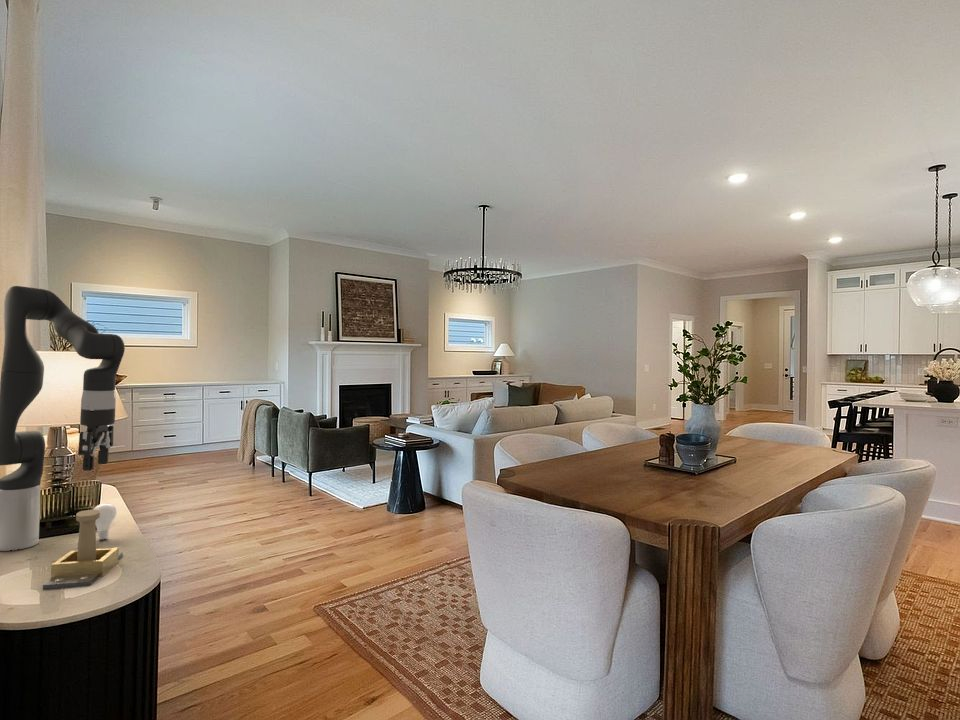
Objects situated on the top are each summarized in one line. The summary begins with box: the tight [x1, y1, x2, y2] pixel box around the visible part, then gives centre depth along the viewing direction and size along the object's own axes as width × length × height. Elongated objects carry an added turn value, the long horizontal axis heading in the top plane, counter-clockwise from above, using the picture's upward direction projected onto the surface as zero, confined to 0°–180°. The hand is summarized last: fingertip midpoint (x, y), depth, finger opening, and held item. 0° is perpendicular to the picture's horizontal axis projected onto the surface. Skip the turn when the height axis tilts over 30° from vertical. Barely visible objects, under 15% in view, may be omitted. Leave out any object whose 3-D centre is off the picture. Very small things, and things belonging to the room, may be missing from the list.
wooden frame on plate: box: [42, 547, 124, 590], centre depth 132 cm, size 11×20×4 cm, turn 16°
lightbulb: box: [92, 502, 117, 541], centre depth 155 cm, size 6×6×11 cm
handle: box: [75, 509, 100, 561], centre depth 132 cm, size 5×6×15 cm
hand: (95, 466), depth 138 cm, fingers open, 8 cm apart
